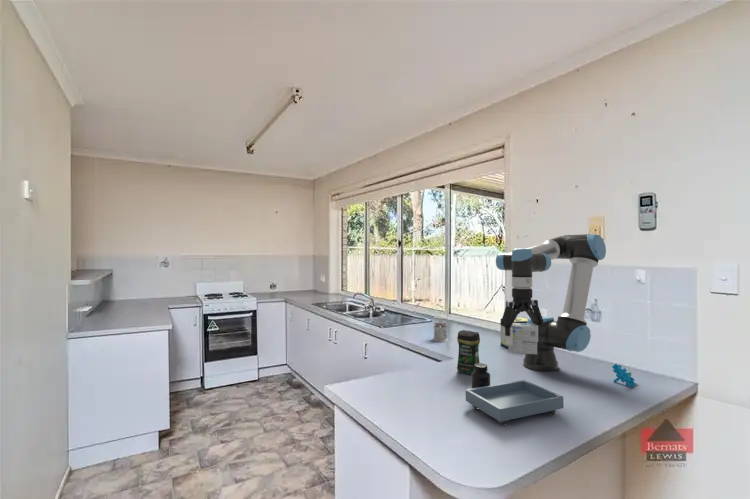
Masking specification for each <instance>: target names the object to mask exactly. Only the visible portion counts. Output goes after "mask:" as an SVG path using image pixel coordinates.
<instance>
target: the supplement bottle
mask: <svg viewBox="0 0 750 499" xmlns="http://www.w3.org/2000/svg"><path fill="white" fill-rule="evenodd" d="M474 370H475V371H473V372H472V374H471V376H470V378H471V389H473V388H479V387H485V386H491V374H490V373H489V372H488V370H489V369H488V365H487V364H486V363H483V362H482V363H481V362H479V363H476V364H474Z"/></svg>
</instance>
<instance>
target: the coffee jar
mask: <svg viewBox="0 0 750 499" xmlns="http://www.w3.org/2000/svg"><path fill="white" fill-rule="evenodd" d="M456 339H457V344H458V357H457V367H456V369H457V371H458V372H459V373H461V374H465V375H471V374H472V372H473V371H475V370H474V364H476V363H480V355H479V352H480V351H479V350H480V349H479V345H480V342H481V338H480V333H479V332H478V331H471V330H464V329H463V330H459V331H458V333H457V337H456Z"/></svg>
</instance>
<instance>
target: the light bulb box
mask: <svg viewBox="0 0 750 499" xmlns="http://www.w3.org/2000/svg"><path fill="white" fill-rule="evenodd" d="M510 328H513V345H509V344H508V348H507V349H508V353H514V354H524V355H525V354H537V326H536V324H526V323H513V324H512V326H511V327H510Z"/></svg>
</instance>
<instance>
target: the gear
mask: <svg viewBox="0 0 750 499" xmlns="http://www.w3.org/2000/svg"><path fill="white" fill-rule="evenodd" d="M611 367H612V368H613V369H612V371H613V373H614V374H615V376H616V378H614V380H613V381H612V382H613V383H617V382H618V381H620V382H621V383H625V382H626V383H625V385H626V386H628V387H629V386H630V387H632V388H634V387H635V385H636V382H635V378H633V377H632V372H631V371H629V372H627V371H628V370H627V369H626V368H625V367H624V368H622V367H623V366H622V365H621V364H617V363H614V364H613V366H611Z"/></svg>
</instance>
